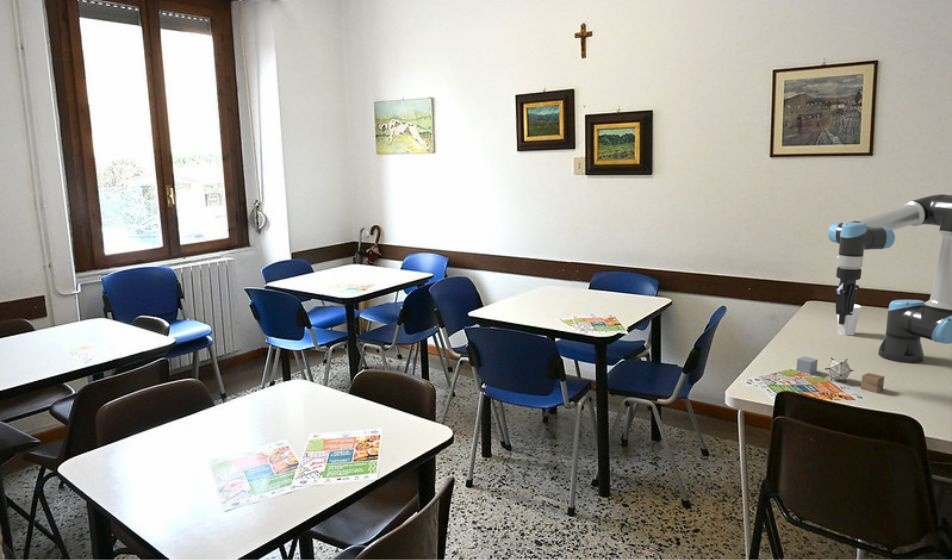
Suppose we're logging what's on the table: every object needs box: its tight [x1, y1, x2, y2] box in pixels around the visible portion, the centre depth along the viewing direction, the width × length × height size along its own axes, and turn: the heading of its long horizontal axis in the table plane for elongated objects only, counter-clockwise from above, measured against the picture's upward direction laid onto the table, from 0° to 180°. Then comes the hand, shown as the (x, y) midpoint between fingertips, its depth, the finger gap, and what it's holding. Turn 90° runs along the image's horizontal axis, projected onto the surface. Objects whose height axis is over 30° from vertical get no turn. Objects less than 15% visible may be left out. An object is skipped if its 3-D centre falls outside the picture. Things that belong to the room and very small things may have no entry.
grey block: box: [796, 356, 819, 375], centre depth 245 cm, size 5×5×5 cm
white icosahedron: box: [824, 357, 854, 383], centre depth 236 cm, size 9×8×10 cm
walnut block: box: [860, 372, 885, 394], centre depth 227 cm, size 5×5×5 cm
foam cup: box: [836, 303, 862, 336], centre depth 292 cm, size 10×9×13 cm
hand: (842, 332), depth 233 cm, fingers closed
